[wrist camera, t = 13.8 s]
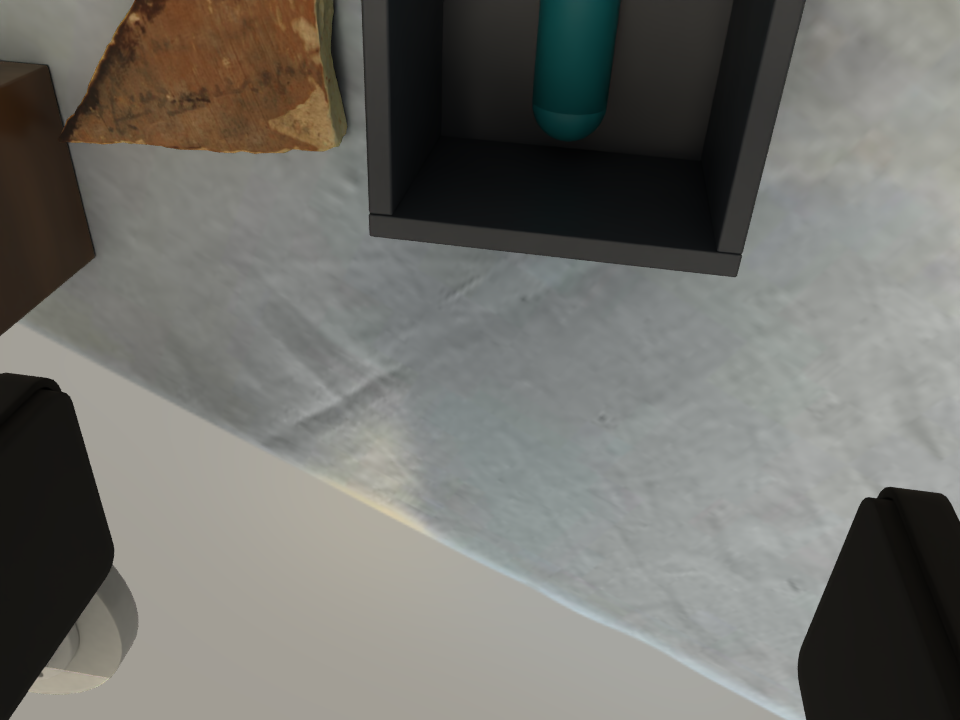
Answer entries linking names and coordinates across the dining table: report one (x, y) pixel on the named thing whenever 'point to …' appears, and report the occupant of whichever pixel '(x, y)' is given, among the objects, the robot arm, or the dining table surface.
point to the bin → (586, 162)
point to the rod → (573, 65)
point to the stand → (35, 195)
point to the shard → (216, 78)
